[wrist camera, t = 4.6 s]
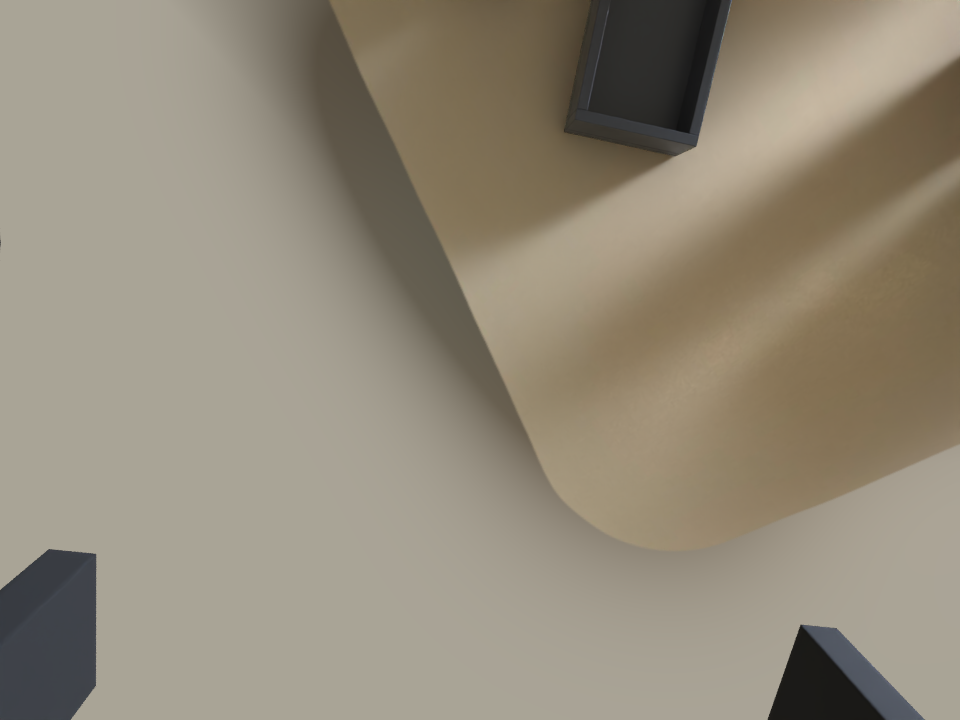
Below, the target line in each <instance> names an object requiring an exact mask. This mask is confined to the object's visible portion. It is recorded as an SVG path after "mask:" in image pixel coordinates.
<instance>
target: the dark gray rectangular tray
mask: <svg viewBox="0 0 960 720" xmlns="http://www.w3.org/2000/svg"><path fill="white" fill-rule="evenodd" d="M731 2H732V0H591V4H590V9H589V13H588V18H587V23H586V28H585V33H584V38H583V42H582V47H581V52H580V57H579V62H578V67H577V71H576V76H575V81H574V86H573V91H572V96H571V100H570V105H569V110H568V115H567V120H566V125H565V129H564V132H567V133H572V134H576V135H581V136H585V137H590V138H594V139H599V140H603V141H608V142H612V143H617V144H622V145H626V146H631V147H635V148H640V149H644V150H649V151H653V152H658V153H662V154H667V155H671V156H677V155H679V154H681V153H683V152H686V151H688V150H690V149H692V148H694V147H696V146H697V141H698V137H699V133H700V129H701V125H702V121H703V117H704V113H705V109H706V105H707V100H708V96H709V92H710V88H711V84H712V80H713V76H714V72H715V68H716V64H717V59H718V55H719V51H720V47H721V43H722V39H723V35H724V31H725V27H726V23H727V18H728V14H729V10H730V6H731Z"/></svg>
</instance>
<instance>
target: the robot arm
mask: <svg viewBox="0 0 960 720" xmlns="http://www.w3.org/2000/svg"><path fill="white" fill-rule="evenodd" d="M95 686H96V554H91V553H82V552H72V551H62V550H52V549H49V550H47V551H46V552H45V553H44V554H43V555H41V556H40V557H39V558H38V559H37V560H35V561H34V562H33V563H32V564H31V565H29V566H28V567H27V568H26V569H25V570H24V571H22V572H21V573H20V574H19V575H18V576H16V577H15V578H14V579H13V580H12V581H10V582H9V583H8V584H7V585H6V586H4V587H3V588H2V589H1V590H0V720H71V718H72V717H73V716H74V714H75V713H76V712H77V710H78V709H79V708H80V706H81V705H82V704H83V702H84V701H85V700H86V698H87V697H88V695H89V694H90V693H91V691H92V690H93V689H94V687H95ZM768 720H924V719H923V718H922V716H921V715H920V714H919V713H918V712H917V711H915V709H914V708H913V707H912V706H911V705H910V704H909V703H908V702H907V701H906V700H905V699H904V698H903V697H902V696H901V695H900V694H899V693H898V692H897V691H896V690H895V688H894V687H893V686H892V685H891V684H890V683H889V682H888V681H887V680H886V679H885V678H884V677H883V676H882V675H881V674H880V673H879V672H878V671H877V670H876V669H875V668H874V667H873V666H872V665H871V664H870V663H869V661H868V660H867V659H866V658H865V657H864V656H863V655H862V654H861V653H860V652H859V651H858V650H857V649H856V648H855V647H854V646H853V645H852V644H851V643H850V642H849V641H848V640H847V639H846V638H845V637H844V636H843V635H842V634H841V632H840V631H839V630H837V628H829V627H818V626H808V625H800V629H799V631H798V634H797V637H796V640H795V643H794V645H793V649H792V651H791V654H790V657H789V660H788V663H787V665H786V668H785V671H784V674H783V677H782V680H781V683H780V686H779V688H778V691H777V694H776V697H775V700H774V703H773V706H772V709H771V711H770V714H769V717H768Z"/></svg>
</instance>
